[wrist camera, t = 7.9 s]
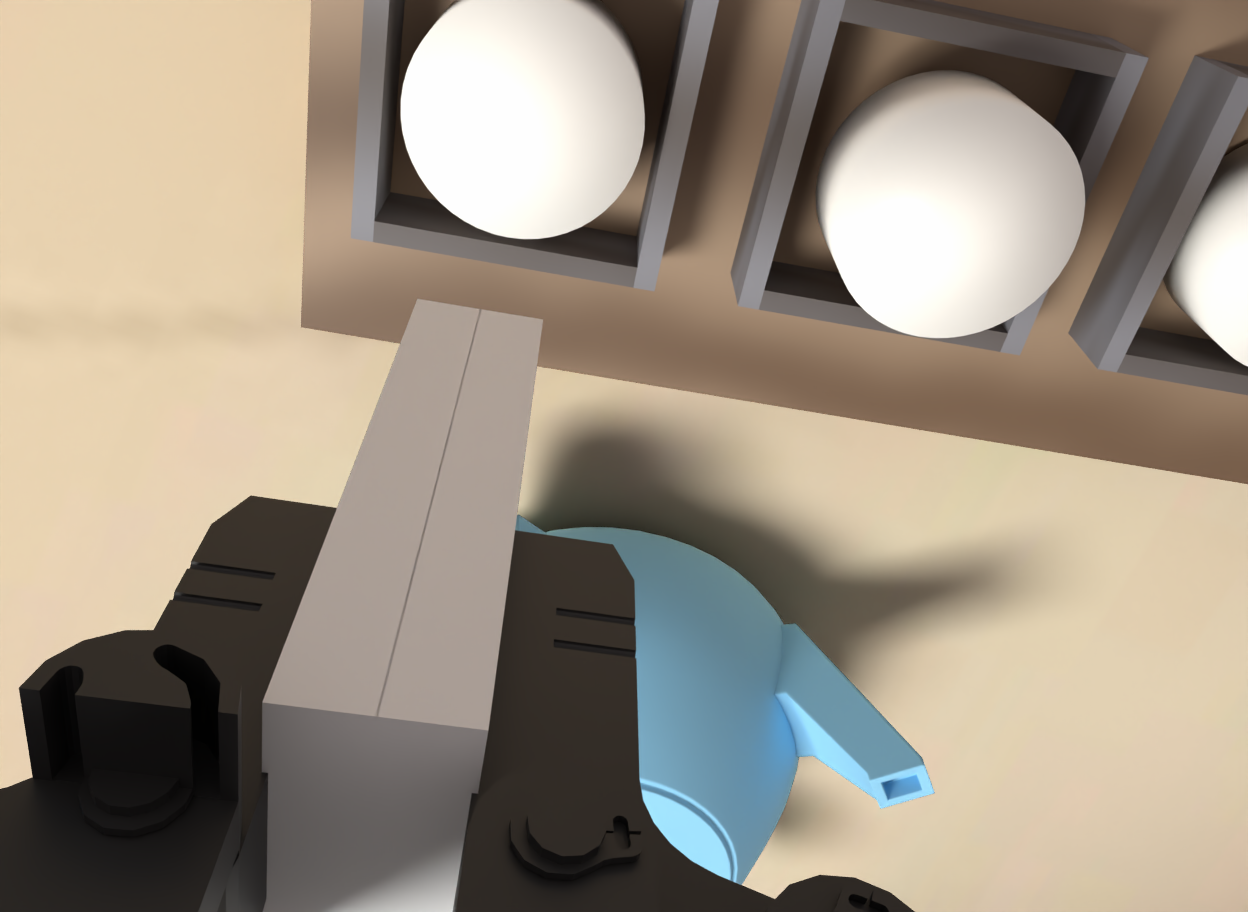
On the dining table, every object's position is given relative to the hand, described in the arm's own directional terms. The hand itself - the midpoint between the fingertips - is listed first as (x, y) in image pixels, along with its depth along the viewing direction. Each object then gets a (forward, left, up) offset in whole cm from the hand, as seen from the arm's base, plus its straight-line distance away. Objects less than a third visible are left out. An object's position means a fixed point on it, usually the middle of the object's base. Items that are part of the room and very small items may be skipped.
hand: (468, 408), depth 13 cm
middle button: (+1, -9, -12) cm, 15 cm away
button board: (+1, -9, -17) cm, 19 cm away
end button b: (+1, 0, -13) cm, 13 cm away
